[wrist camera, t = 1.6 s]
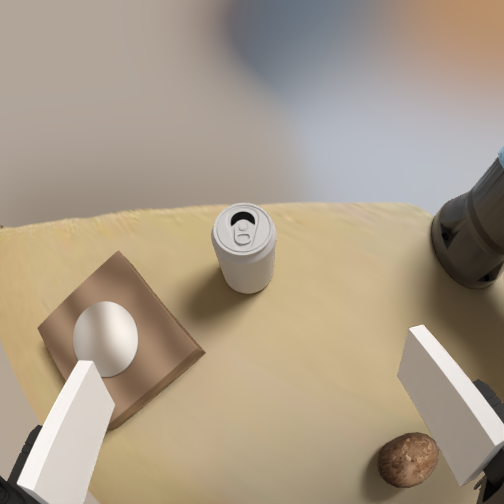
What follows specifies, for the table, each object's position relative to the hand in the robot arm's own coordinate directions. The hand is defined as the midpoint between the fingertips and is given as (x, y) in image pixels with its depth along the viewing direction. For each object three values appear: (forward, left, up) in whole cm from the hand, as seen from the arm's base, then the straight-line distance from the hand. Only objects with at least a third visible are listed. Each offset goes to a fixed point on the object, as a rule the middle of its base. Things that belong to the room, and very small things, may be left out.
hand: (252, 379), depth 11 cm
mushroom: (-5, +21, -25) cm, 33 cm away
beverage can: (-9, -11, -25) cm, 29 cm away
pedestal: (+10, -15, -25) cm, 31 cm away
